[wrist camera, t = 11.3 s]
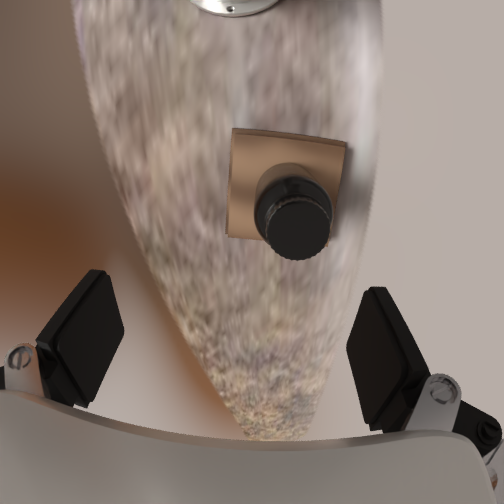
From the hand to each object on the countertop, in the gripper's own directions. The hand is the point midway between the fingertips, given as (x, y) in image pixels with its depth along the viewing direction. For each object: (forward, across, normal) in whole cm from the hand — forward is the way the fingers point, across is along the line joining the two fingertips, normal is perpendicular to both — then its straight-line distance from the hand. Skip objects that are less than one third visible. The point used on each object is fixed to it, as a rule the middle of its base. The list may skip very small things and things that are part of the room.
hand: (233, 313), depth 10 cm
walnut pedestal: (+26, -4, +2) cm, 26 cm away
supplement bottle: (+23, -4, +2) cm, 24 cm away
